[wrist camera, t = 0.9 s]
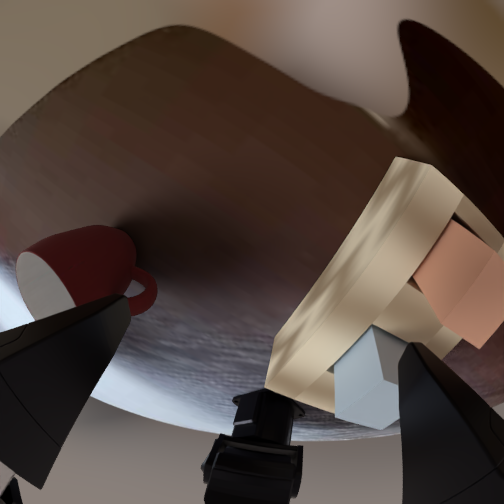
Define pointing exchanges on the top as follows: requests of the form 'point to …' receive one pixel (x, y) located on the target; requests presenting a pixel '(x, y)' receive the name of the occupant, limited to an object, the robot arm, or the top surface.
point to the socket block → (375, 282)
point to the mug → (81, 271)
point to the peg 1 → (369, 379)
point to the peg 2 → (463, 284)
